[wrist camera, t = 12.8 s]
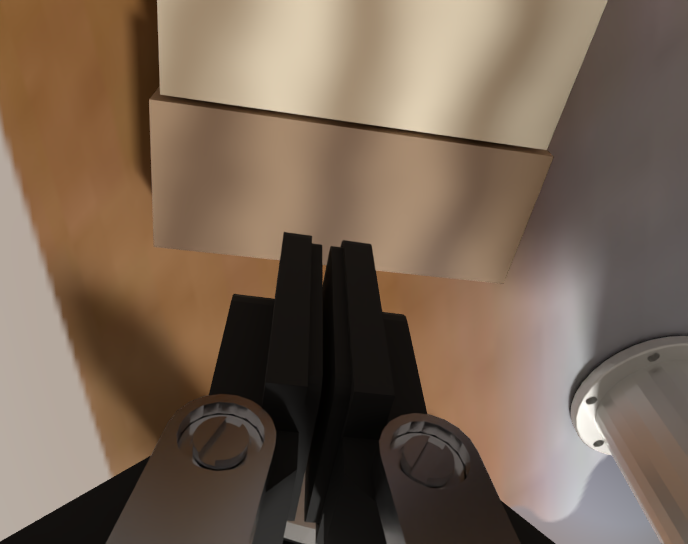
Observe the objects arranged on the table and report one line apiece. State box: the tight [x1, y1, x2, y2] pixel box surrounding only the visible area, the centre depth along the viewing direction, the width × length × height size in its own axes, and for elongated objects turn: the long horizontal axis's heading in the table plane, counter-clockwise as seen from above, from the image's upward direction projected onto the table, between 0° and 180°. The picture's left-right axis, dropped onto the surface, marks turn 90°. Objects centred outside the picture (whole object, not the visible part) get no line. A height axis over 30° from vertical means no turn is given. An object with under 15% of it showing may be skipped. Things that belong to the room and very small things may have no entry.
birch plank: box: [157, 0, 608, 150], centre depth 25 cm, size 19×8×2 cm, turn 81°
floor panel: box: [149, 87, 553, 284], centre depth 27 cm, size 20×18×3 cm
